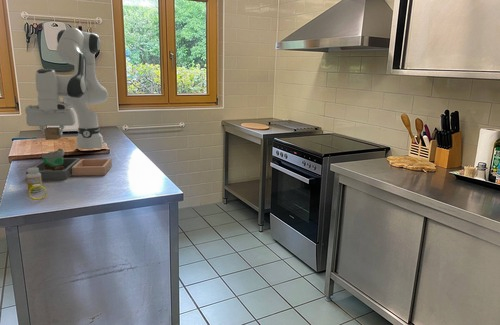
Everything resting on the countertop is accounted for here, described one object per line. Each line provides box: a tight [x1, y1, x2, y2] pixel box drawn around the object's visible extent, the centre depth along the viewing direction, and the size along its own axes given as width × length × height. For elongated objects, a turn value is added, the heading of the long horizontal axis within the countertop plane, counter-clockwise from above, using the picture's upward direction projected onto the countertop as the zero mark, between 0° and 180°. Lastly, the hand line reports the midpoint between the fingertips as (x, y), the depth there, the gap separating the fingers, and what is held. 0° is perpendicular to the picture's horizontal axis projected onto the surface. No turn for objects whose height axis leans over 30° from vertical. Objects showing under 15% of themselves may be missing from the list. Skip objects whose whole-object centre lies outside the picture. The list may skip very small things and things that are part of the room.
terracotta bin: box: [72, 158, 113, 176], centre depth 185 cm, size 16×15×4 cm
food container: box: [41, 148, 65, 171], centre depth 183 cm, size 12×6×10 cm, turn 168°
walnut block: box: [44, 126, 62, 141], centre depth 171 cm, size 5×5×5 cm
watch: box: [28, 184, 47, 201], centre depth 146 cm, size 6×3×6 cm, turn 119°
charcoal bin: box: [25, 157, 82, 181], centre depth 181 cm, size 24×17×4 cm
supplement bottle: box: [25, 166, 44, 193], centre depth 155 cm, size 5×5×10 cm
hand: (53, 135), depth 172 cm, fingers closed on walnut block, 5 cm apart
